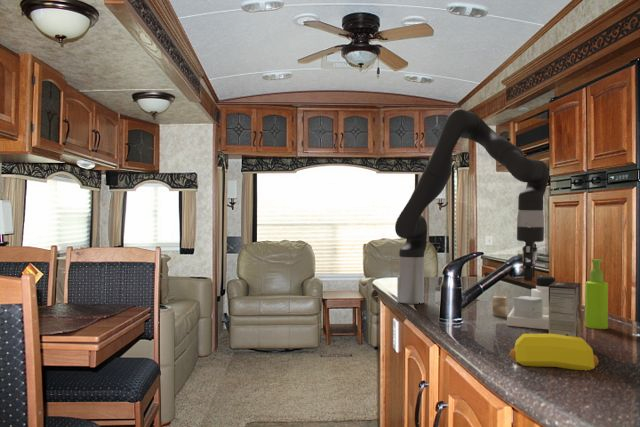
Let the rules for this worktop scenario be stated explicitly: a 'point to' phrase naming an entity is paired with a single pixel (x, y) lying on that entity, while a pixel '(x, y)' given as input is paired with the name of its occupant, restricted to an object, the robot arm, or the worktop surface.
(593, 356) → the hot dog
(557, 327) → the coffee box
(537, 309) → the product box
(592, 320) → the soap dispenser
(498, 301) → the beech block
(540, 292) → the medicine bottle
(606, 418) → the worktop surface
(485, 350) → the worktop surface
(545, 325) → the tray
